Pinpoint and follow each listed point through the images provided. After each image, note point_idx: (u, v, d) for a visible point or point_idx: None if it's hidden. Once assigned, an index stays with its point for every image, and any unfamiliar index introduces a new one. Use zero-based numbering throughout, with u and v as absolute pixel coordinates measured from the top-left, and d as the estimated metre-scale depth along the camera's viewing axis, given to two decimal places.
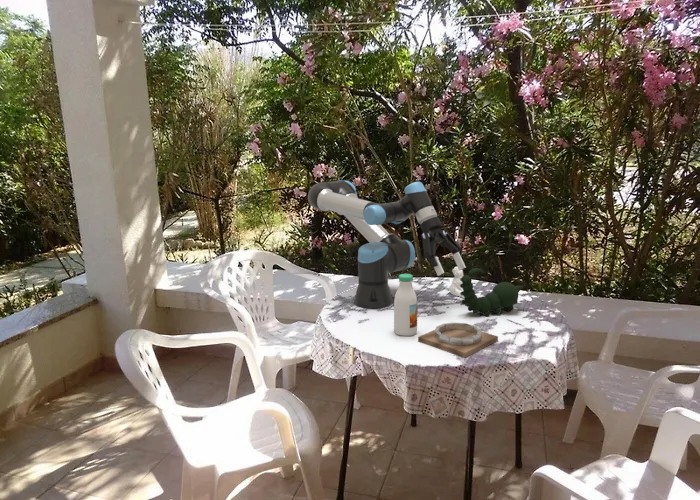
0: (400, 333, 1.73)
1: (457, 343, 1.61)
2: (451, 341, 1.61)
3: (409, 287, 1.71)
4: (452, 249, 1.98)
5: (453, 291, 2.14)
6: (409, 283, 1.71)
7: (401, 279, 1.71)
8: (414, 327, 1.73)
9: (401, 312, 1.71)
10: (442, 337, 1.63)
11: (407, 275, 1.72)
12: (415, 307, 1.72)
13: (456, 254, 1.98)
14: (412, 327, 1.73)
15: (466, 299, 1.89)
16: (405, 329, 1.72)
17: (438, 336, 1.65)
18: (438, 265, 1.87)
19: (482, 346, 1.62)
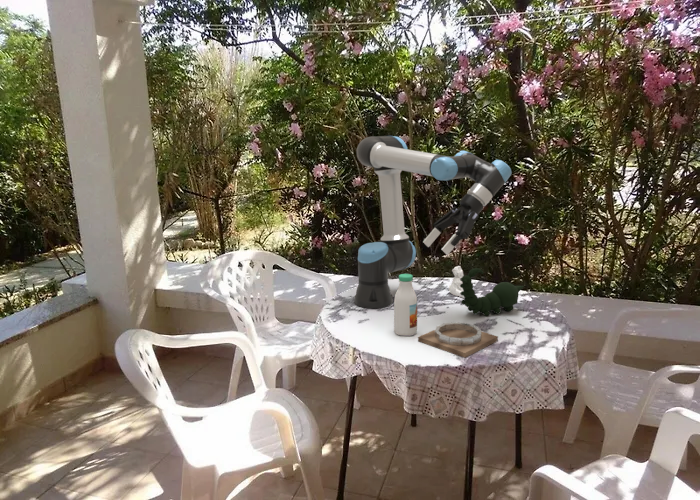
0: (400, 333, 1.73)
1: (457, 343, 1.61)
2: (451, 341, 1.61)
3: (409, 287, 1.71)
4: (442, 226, 1.80)
5: (453, 291, 2.14)
6: (409, 283, 1.71)
7: (401, 279, 1.71)
8: (414, 327, 1.73)
9: (401, 312, 1.71)
10: (442, 337, 1.63)
11: (407, 275, 1.72)
12: (415, 307, 1.72)
13: (438, 232, 1.80)
14: (412, 327, 1.73)
15: (466, 299, 1.89)
16: (405, 329, 1.72)
17: (438, 336, 1.65)
18: (453, 246, 1.68)
19: (482, 346, 1.62)
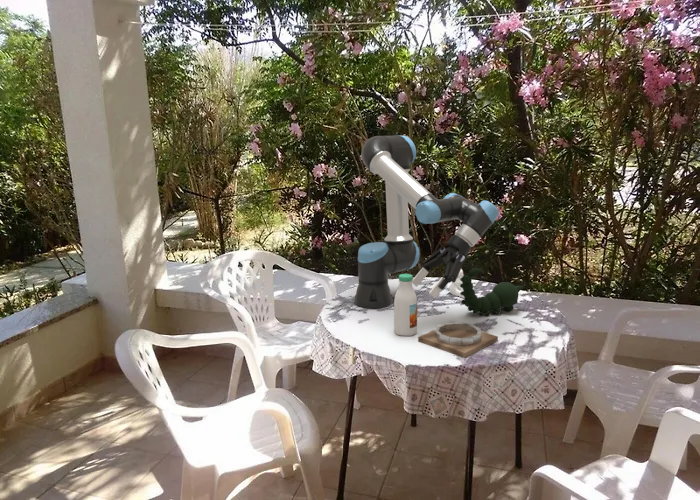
0: (400, 333, 1.73)
1: (457, 343, 1.61)
2: (451, 341, 1.61)
3: (409, 287, 1.71)
4: (430, 266, 1.80)
5: (453, 291, 2.14)
6: (409, 283, 1.71)
7: (401, 279, 1.71)
8: (414, 327, 1.73)
9: (401, 312, 1.71)
10: (442, 337, 1.63)
11: (407, 275, 1.72)
12: (415, 307, 1.72)
13: (426, 272, 1.80)
14: (412, 327, 1.73)
15: (466, 299, 1.89)
16: (405, 329, 1.72)
17: (438, 336, 1.65)
18: (440, 289, 1.67)
19: (482, 346, 1.62)
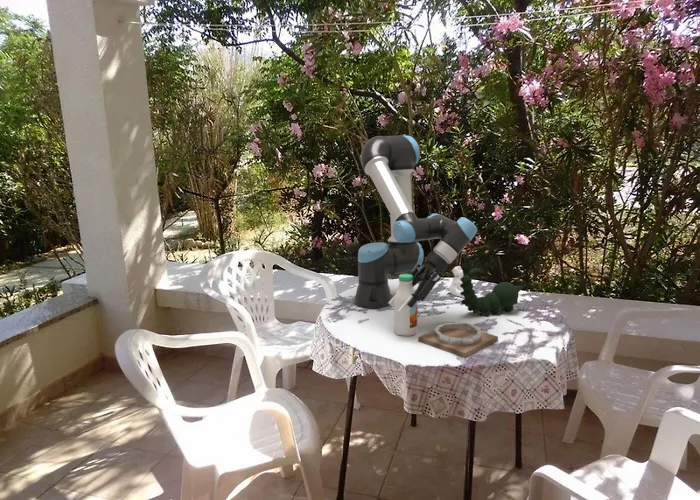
0: (400, 333, 1.73)
1: (457, 343, 1.61)
2: (451, 341, 1.61)
3: (409, 287, 1.71)
4: None
5: (453, 291, 2.14)
6: (409, 283, 1.71)
7: (401, 279, 1.71)
8: (414, 327, 1.73)
9: None
10: (442, 337, 1.63)
11: (407, 275, 1.72)
12: (415, 307, 1.72)
13: None
14: (412, 327, 1.73)
15: (466, 299, 1.89)
16: (405, 329, 1.72)
17: (438, 336, 1.65)
18: (409, 307, 1.70)
19: (482, 346, 1.62)
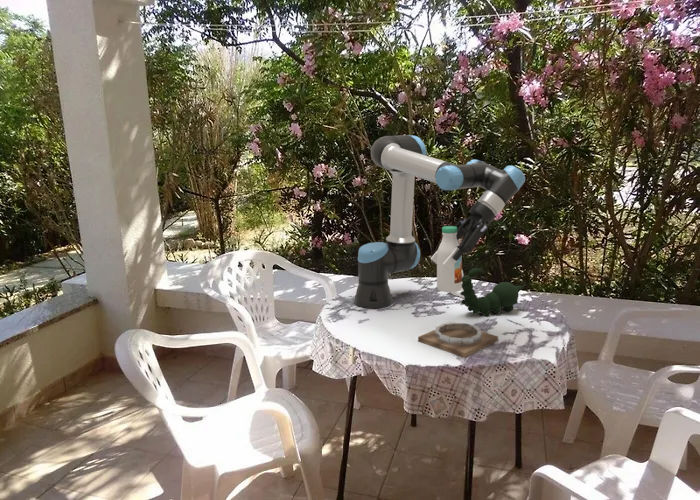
0: (444, 289, 1.62)
1: (457, 343, 1.61)
2: (451, 341, 1.61)
3: (454, 239, 1.60)
4: None
5: None
6: (454, 235, 1.60)
7: (445, 231, 1.60)
8: (459, 283, 1.62)
9: (445, 267, 1.60)
10: (442, 337, 1.63)
11: (451, 227, 1.61)
12: (460, 261, 1.61)
13: None
14: (457, 282, 1.62)
15: (466, 299, 1.89)
16: (450, 284, 1.61)
17: (438, 336, 1.65)
18: (454, 261, 1.59)
19: (482, 346, 1.62)
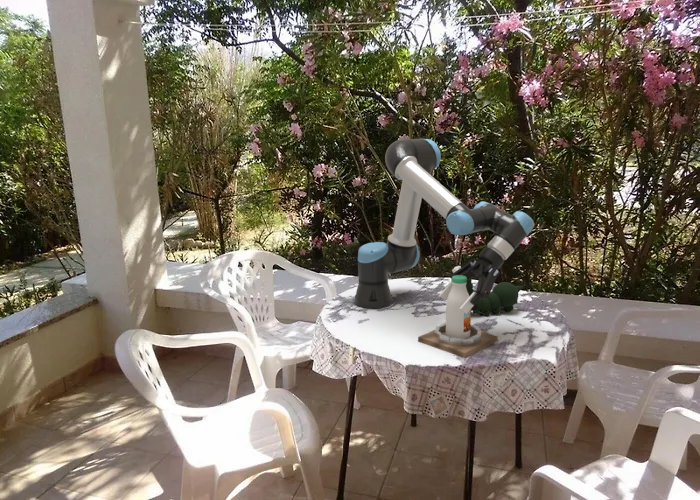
0: (453, 337, 1.65)
1: (457, 343, 1.61)
2: (451, 341, 1.61)
3: (463, 289, 1.63)
4: None
5: None
6: (463, 285, 1.62)
7: (455, 281, 1.62)
8: (468, 331, 1.65)
9: (455, 316, 1.63)
10: (442, 337, 1.63)
11: (461, 276, 1.63)
12: (469, 310, 1.64)
13: None
14: (466, 331, 1.64)
15: None
16: (459, 333, 1.64)
17: (438, 336, 1.65)
18: (472, 305, 1.59)
19: (482, 346, 1.62)
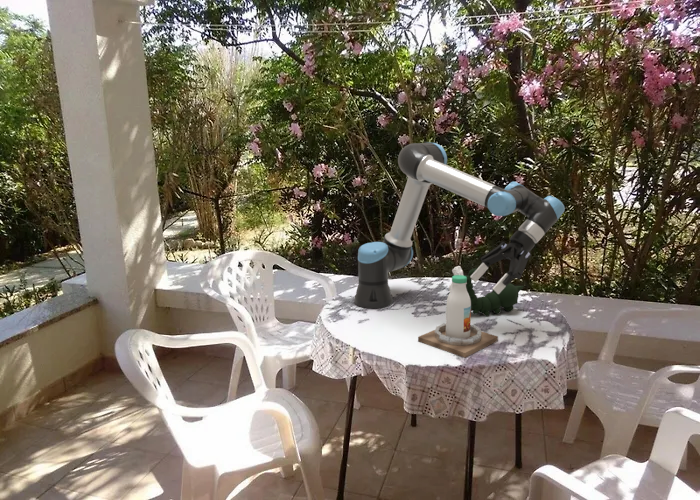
0: (453, 337, 1.65)
1: (457, 343, 1.61)
2: (451, 341, 1.61)
3: (463, 289, 1.63)
4: (490, 262, 1.76)
5: None
6: (463, 285, 1.62)
7: (455, 281, 1.62)
8: (468, 331, 1.65)
9: (455, 316, 1.63)
10: (442, 337, 1.63)
11: (461, 276, 1.63)
12: (469, 310, 1.64)
13: (485, 267, 1.77)
14: (466, 331, 1.64)
15: None
16: (459, 333, 1.64)
17: (438, 336, 1.65)
18: (504, 285, 1.64)
19: (482, 346, 1.62)
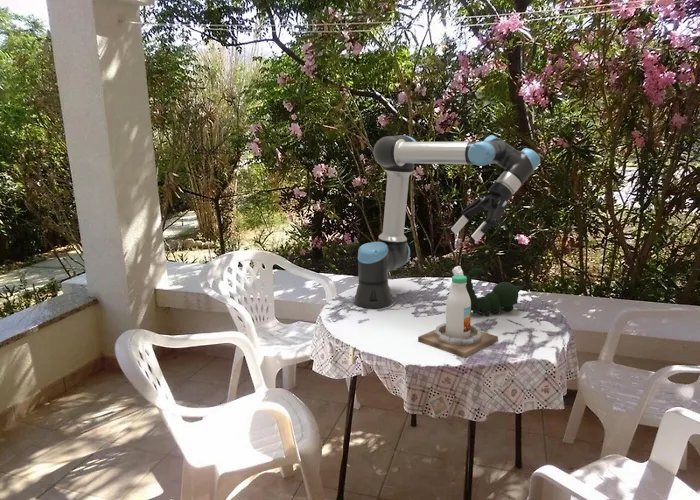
0: (453, 337, 1.65)
1: (457, 343, 1.61)
2: (451, 341, 1.61)
3: (463, 289, 1.63)
4: (470, 214, 1.82)
5: None
6: (463, 285, 1.62)
7: (455, 281, 1.62)
8: (468, 331, 1.65)
9: (455, 316, 1.63)
10: (442, 337, 1.63)
11: (461, 276, 1.63)
12: (469, 310, 1.64)
13: (465, 220, 1.82)
14: (466, 331, 1.64)
15: None
16: (459, 333, 1.64)
17: (438, 336, 1.65)
18: (482, 233, 1.69)
19: (482, 346, 1.62)
